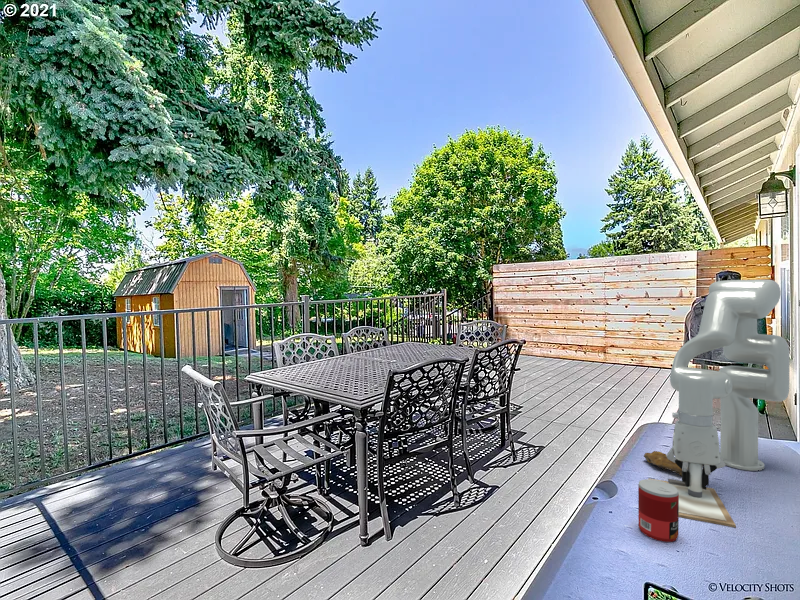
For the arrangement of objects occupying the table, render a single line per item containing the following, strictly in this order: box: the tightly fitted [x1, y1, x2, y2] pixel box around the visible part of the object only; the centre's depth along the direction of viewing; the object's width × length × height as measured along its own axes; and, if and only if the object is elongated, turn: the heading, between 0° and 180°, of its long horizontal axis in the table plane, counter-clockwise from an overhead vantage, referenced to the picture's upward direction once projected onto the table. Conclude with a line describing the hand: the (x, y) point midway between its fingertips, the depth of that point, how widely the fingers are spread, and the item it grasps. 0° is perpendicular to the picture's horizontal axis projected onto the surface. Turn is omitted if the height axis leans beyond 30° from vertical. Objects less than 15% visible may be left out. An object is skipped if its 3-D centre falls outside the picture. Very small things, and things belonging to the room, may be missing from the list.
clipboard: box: [647, 477, 737, 528], centre depth 111 cm, size 20×16×2 cm
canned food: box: [637, 478, 680, 543], centre depth 97 cm, size 8×8×11 cm
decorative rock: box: [643, 450, 682, 477], centre depth 132 cm, size 11×4×15 cm
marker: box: [688, 462, 703, 498], centre depth 113 cm, size 3×3×12 cm
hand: (694, 485), depth 113 cm, fingers closed on marker, 3 cm apart
